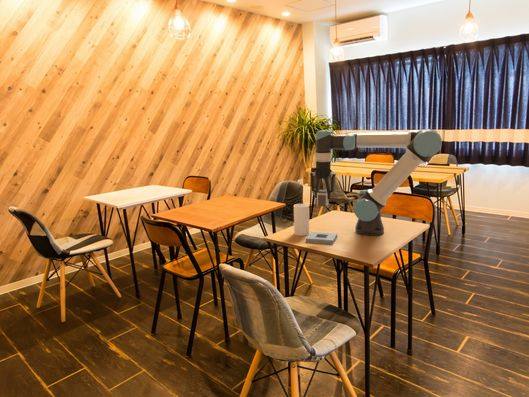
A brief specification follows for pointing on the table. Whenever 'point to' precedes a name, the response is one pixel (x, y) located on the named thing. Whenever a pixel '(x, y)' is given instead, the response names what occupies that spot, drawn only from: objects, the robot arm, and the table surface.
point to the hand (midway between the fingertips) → (322, 204)
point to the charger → (322, 197)
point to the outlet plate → (321, 237)
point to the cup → (301, 219)
